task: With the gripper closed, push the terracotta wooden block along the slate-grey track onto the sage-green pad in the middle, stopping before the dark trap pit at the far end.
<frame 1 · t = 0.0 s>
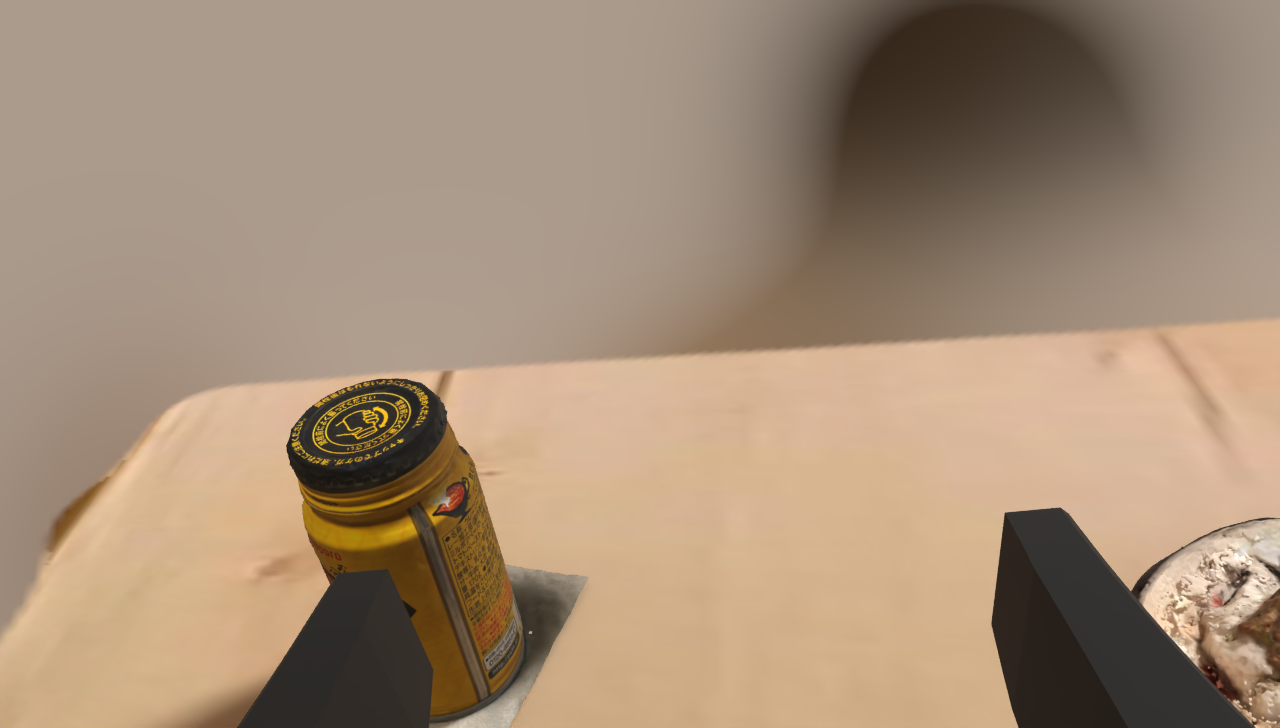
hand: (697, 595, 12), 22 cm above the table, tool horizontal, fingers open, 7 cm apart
condiment: (466, 647, 41), on the table
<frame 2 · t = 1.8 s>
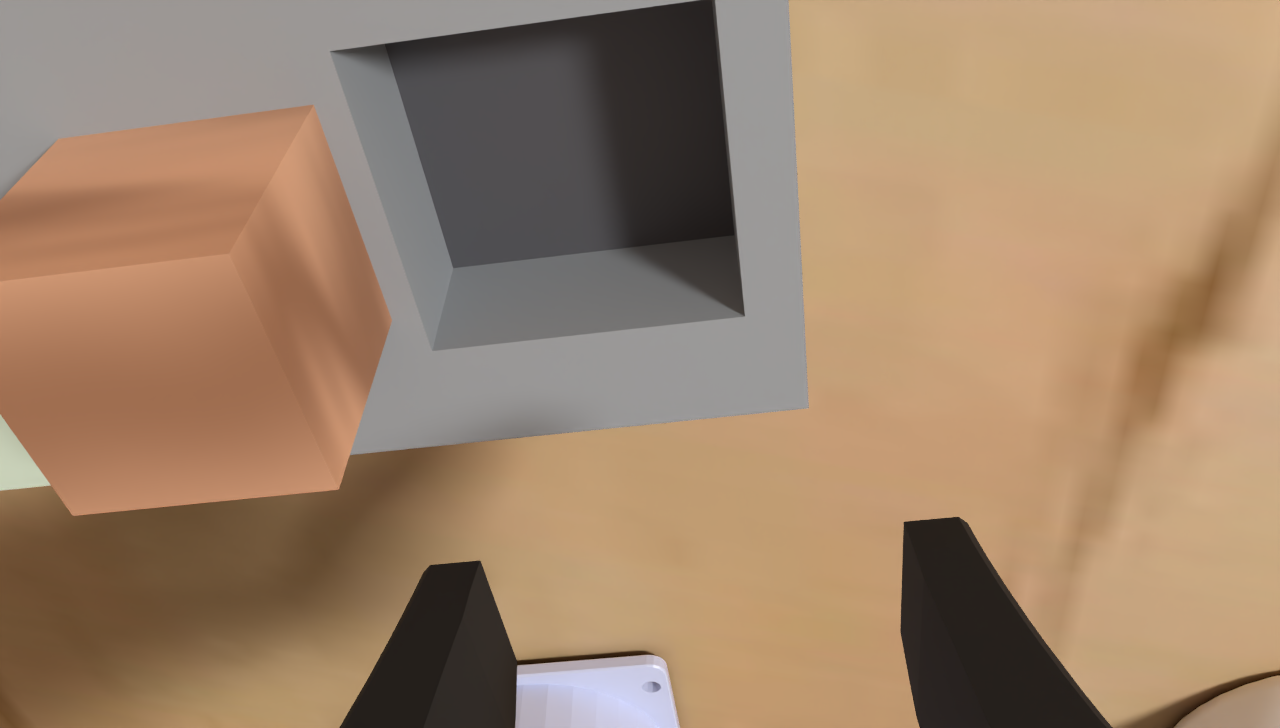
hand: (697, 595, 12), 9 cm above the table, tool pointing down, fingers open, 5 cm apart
block: (236, 235, 17), point 3 cm above the table, touching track
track: (80, 174, 19), on the table
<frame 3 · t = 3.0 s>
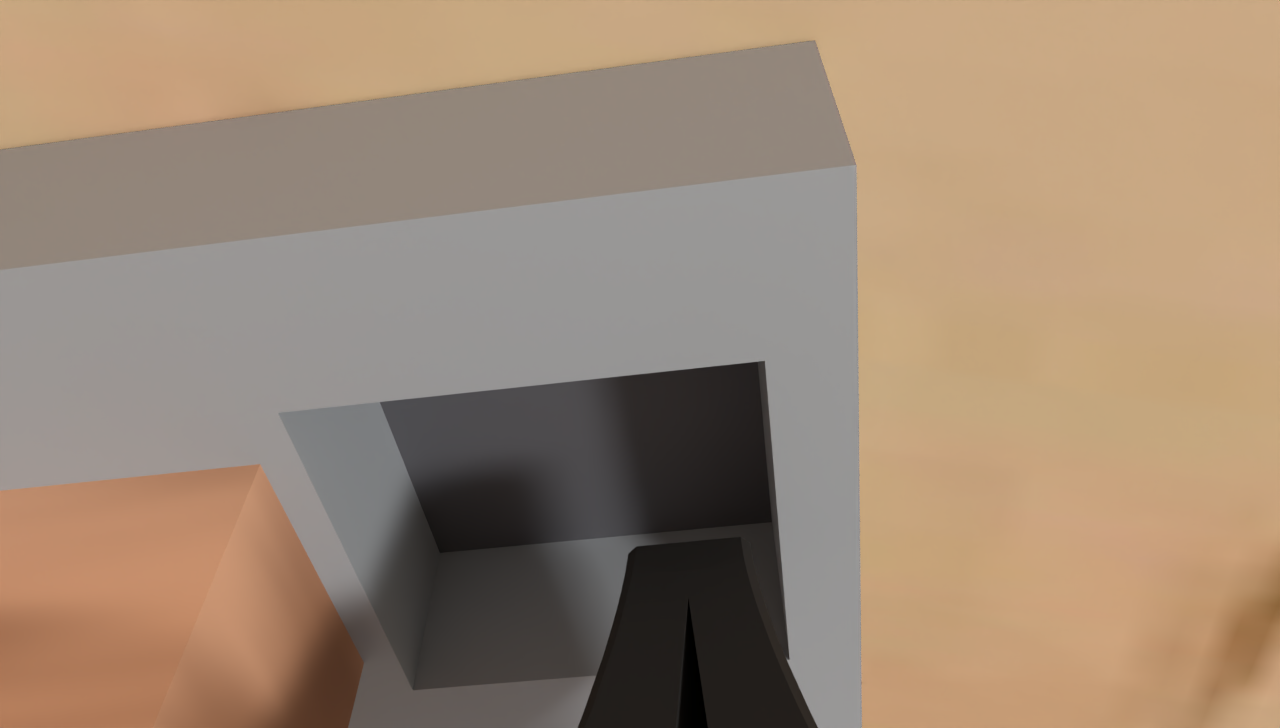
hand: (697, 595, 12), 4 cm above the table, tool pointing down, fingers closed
block: (171, 586, 14), point 3 cm above the table, touching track
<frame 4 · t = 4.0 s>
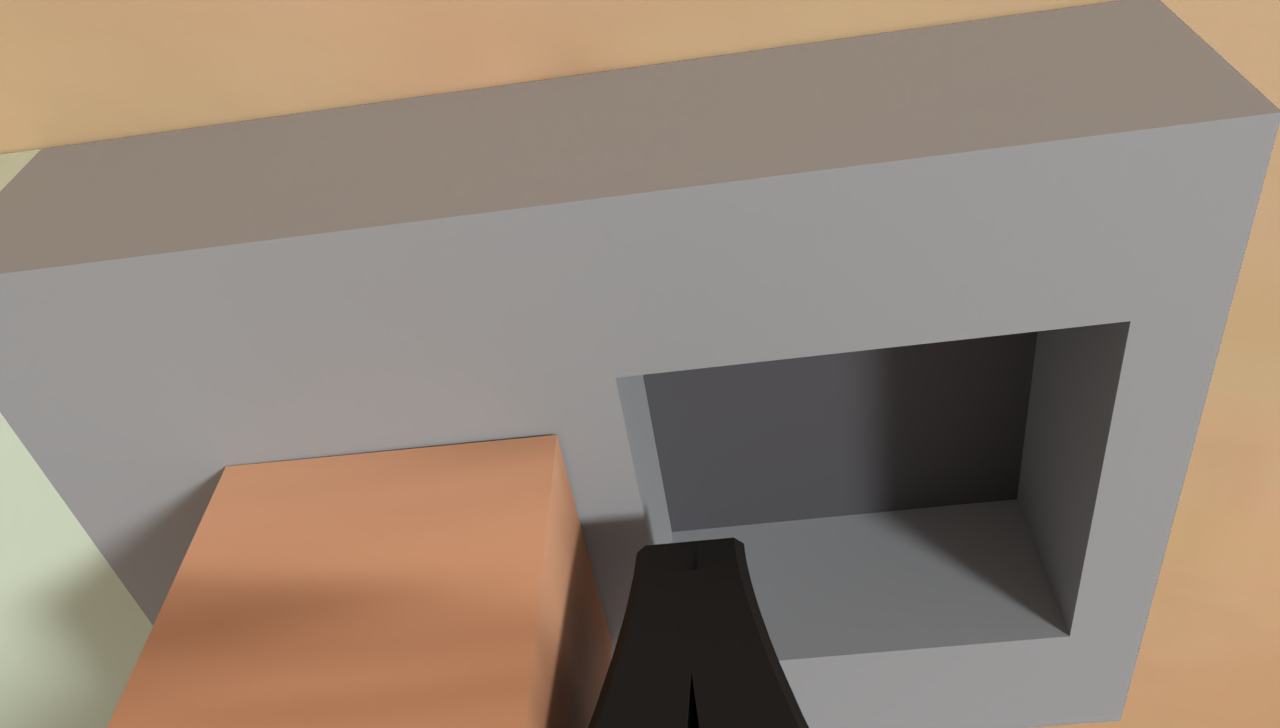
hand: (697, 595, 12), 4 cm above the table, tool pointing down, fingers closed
block: (434, 561, 13), point 3 cm above the table, touching gripper
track: (233, 434, 16), on the table
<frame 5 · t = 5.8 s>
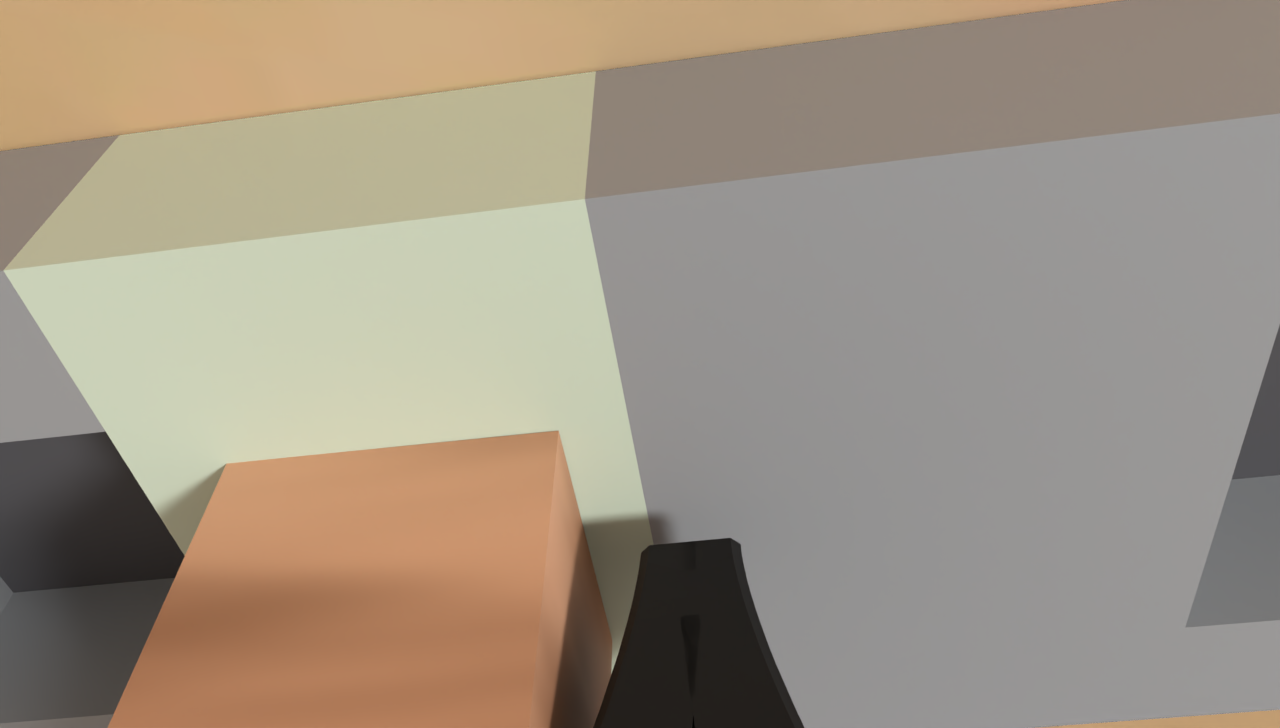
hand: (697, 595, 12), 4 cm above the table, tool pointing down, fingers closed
block: (434, 559, 13), point 3 cm above the table, touching gripper, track
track: (684, 384, 15), on the table
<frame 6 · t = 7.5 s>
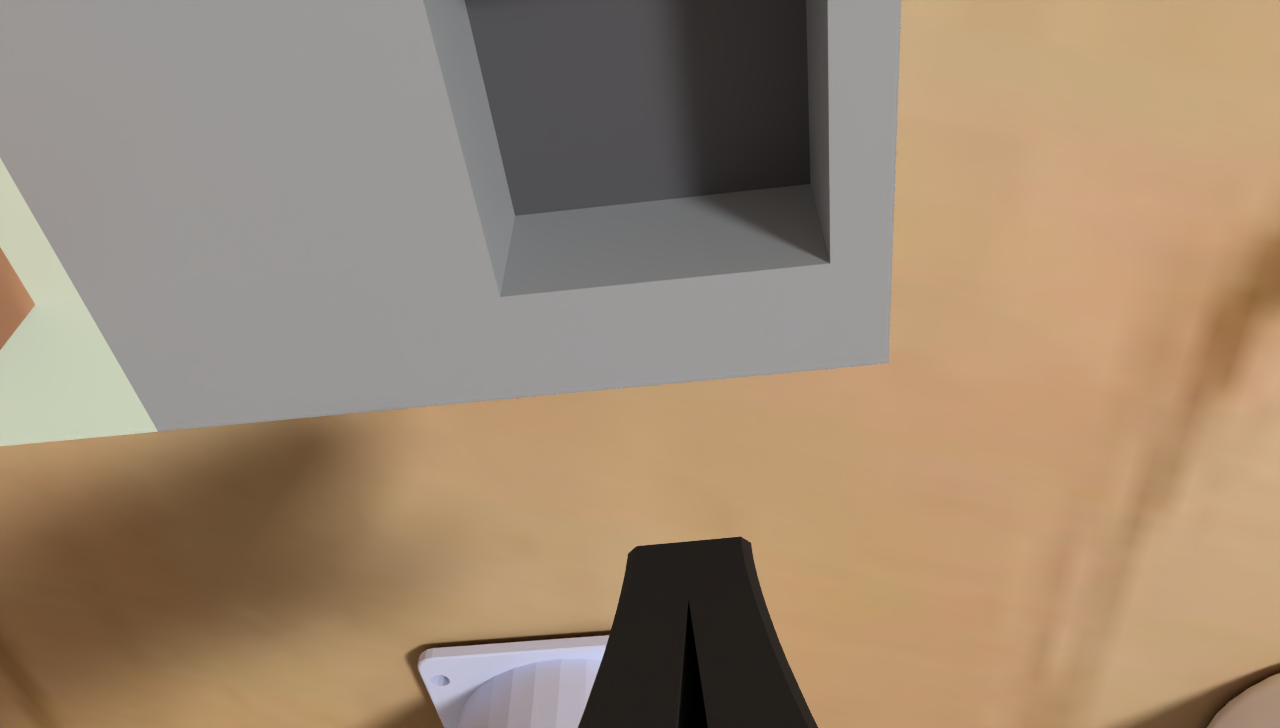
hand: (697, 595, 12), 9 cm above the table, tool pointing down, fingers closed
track: (128, 110, 18), on the table
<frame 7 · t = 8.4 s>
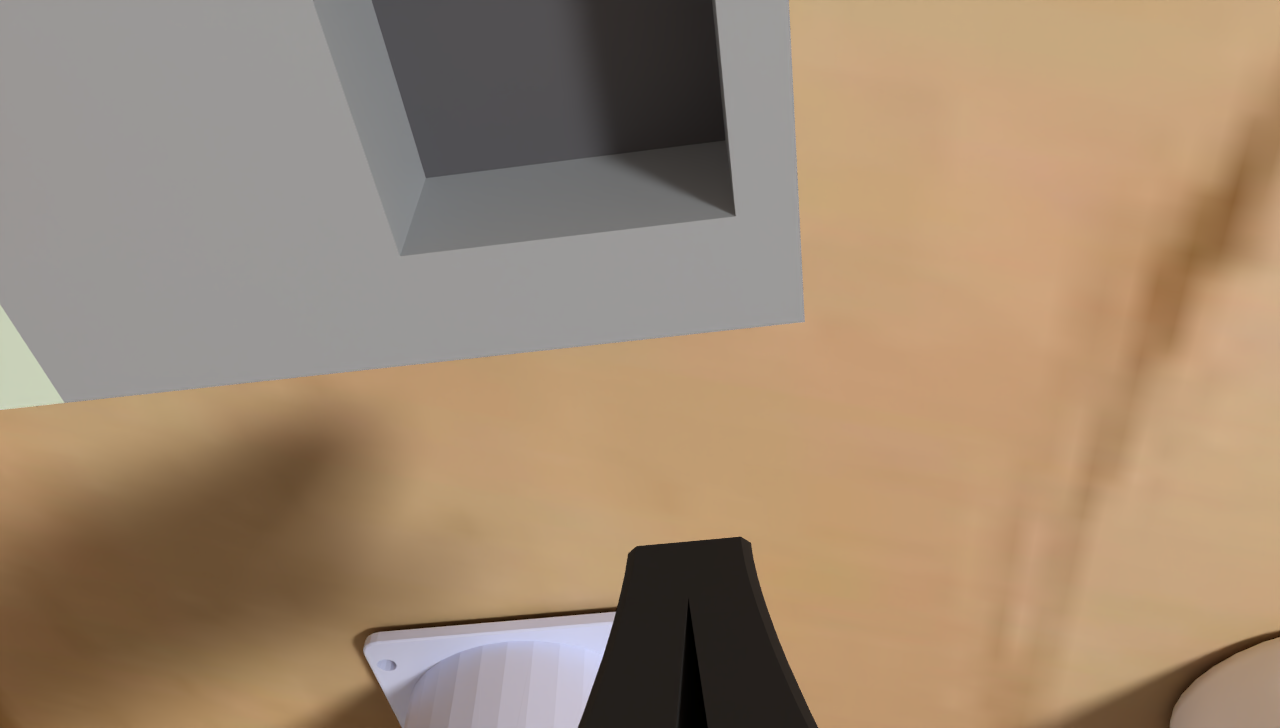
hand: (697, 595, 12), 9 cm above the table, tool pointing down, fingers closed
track: (26, 74, 18), on the table
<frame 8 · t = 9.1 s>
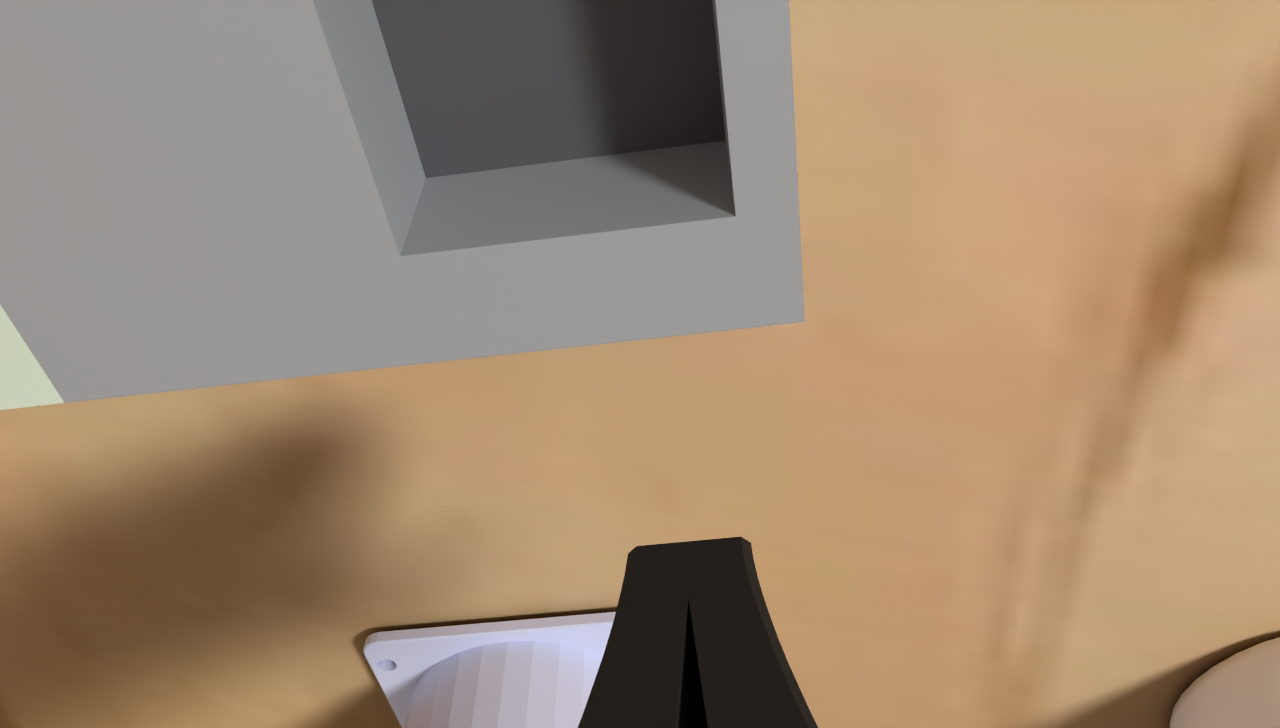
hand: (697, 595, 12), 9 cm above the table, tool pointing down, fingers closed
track: (26, 74, 18), on the table
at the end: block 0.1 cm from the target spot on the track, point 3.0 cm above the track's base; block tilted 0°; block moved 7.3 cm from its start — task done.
